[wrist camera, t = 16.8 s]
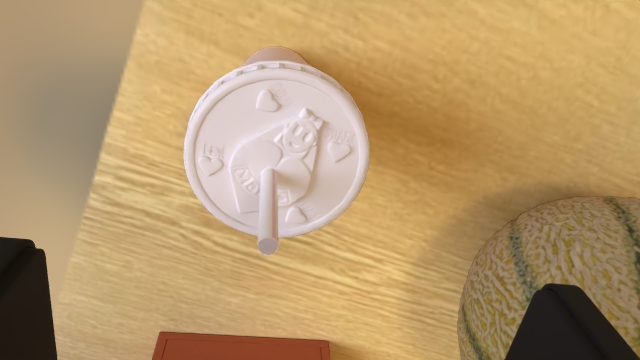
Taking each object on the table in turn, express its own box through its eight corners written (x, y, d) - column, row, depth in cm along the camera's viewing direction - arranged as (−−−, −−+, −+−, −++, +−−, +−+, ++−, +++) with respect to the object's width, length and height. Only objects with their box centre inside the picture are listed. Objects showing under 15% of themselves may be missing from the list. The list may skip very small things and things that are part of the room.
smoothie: (188, 96, 25) (106, 259, 13) (259, -11, 23) (244, 56, 11) (290, 161, 27) (306, 355, 15) (363, 69, 25) (452, 203, 13)
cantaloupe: (674, 272, 33) (941, 498, 20) (482, 369, 36) (605, 625, 23) (610, 101, 27) (936, 264, 14) (384, 233, 30) (474, 476, 17)
